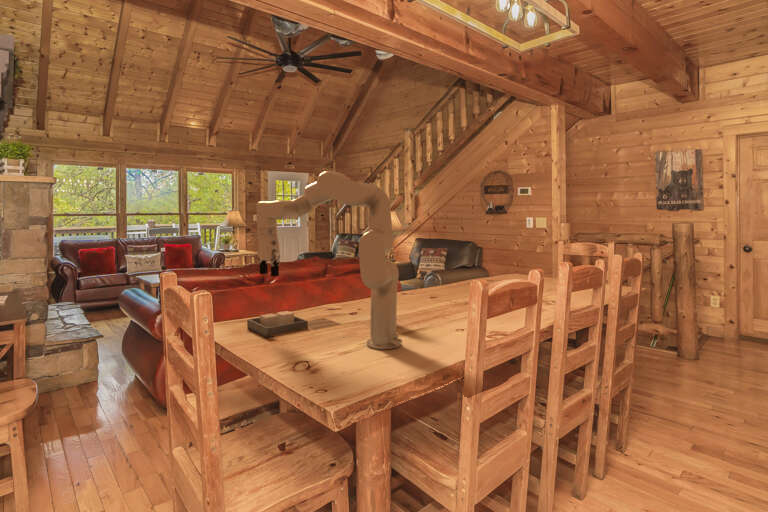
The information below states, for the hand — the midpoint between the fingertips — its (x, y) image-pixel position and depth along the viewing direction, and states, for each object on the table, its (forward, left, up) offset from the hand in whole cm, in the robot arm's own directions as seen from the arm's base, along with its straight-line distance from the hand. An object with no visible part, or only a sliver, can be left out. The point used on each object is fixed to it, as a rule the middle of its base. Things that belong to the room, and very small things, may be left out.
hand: (269, 274), depth 181 cm
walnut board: (-6, -20, -23) cm, 31 cm away
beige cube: (0, 0, -22) cm, 22 cm away
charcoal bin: (0, -3, -23) cm, 23 cm away
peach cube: (0, -7, -22) cm, 23 cm away
